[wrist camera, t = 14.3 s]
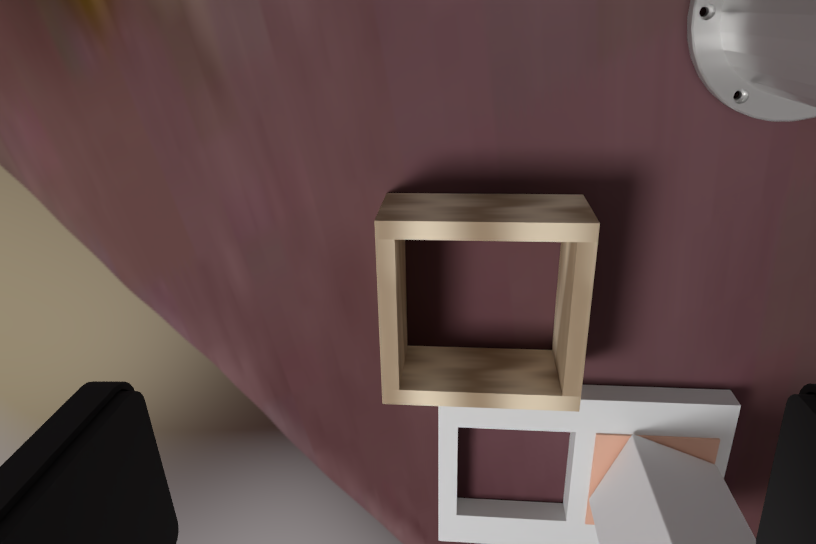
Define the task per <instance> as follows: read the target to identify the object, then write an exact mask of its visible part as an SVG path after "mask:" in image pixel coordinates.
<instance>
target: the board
mask: <svg viewBox="0 0 816 544" xmlns="http://www.w3.org/2000/svg"><path fill="white" fill-rule="evenodd" d="M740 408H741V405H740V403H739V402H738V400H737V399H736V397H735V396H734V394H733V393H732V391H731V390H719V389H691V388H663V387H635V386H607V385H582V392H581V401H580V410H579V412H576V411H551V410H526V409H500V408H475V407H450V406H439V541H451V542H468V543H484V544H599V541H598V537H597V533H596V528H595V524H594V520H593V516H592V511H591V507H590V503H589V498H590V497H591V495H592V494H593V492H594V491H595V489H596V488H597V486H598V485H599V483H600V482H601V480H602V479H603V477H604V476H605V474H606V473H607V471H608V470H609V468H610V467H611V465H612V464H613V462H614V461H615V459H616V458H617V456H618V455H619V453H620V452H621V450H622V449H623V447H624V446H625V444H626V443H627V441H628V440H629V438H630V437H631V435H633V434H634V435H637V436H640V437H643V438H645V439H648V440H651V441H654V442H656V443H659V444H662V445H664V446H667V447H670V448H672V449H675V450H678V451H680V452H683V453H686V454H689V455H691V456H694V457H697V458H699V459H702V460H705V461H707V462H710V463H712V464H715V465H716V466H717V467H718V469H719V471H720V473H721V475H722V477H723V479H724V476H725V472H726V468H727V463H728V459H729V455H730V451H731V446H732V442H733V438H734V434H735V429H736V425H737V421H738V417H739V412H740ZM458 427H464V428H487V429H510V430H534V431H557V432H570V441H569V450H568V460H567V469H566V479H565V489H564V498H563V503H548V502H529V501H511V500H492V499H473V498H457V466H458Z"/></svg>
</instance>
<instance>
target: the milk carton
mask: <svg viewBox="0 0 816 544" xmlns="http://www.w3.org/2000/svg"><path fill="white" fill-rule="evenodd" d="M589 503H590V507H591V511H592V516H593V520H594V524H595V528H596V533H597V537H598V541H599V544H756V539H755V537H754V535H753V533H752V532H751V530H750V528H749V526H748V524H747V522H746V520H745V518H744V516H743V515H742V513H741V511H740V509H739V507H738V505H737V503H736V501H735V499H734V498H733V496H732V494H731V492H730V490H729V488H728V486H727V484H726V482H725V481H724V479H723V477H722V475H721V473H720V471H719V469H718V467H717V466H716V465H715V464H712V463H710V462H707V461H705V460H702V459H699V458H697V457H694V456H691V455H689V454H686V453H683V452H680V451H678V450H675V449H672V448H670V447H667V446H664V445H662V444H659V443H656V442H654V441H651V440H648V439H645V438H643V437H640V436H637V435H634V434H633V435H631V437H630V438H629V440H628V441H627V443H626V444H625V446H624V447H623V449H622V450H621V452H620V453H619V455H618V456H617V458H616V459H615V461H614V462H613V464H612V465H611V467H610V468H609V470H608V471H607V473H606V474H605V476H604V477H603V479H602V480H601V482H600V483H599V485H598V486H597V488H596V489H595V491H594V492H593V494H592V495H591V497H590V498H589Z"/></svg>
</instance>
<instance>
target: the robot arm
mask: <svg viewBox="0 0 816 544" xmlns="http://www.w3.org/2000/svg"><path fill="white" fill-rule="evenodd" d="M702 7H705V8H706V14H705V15H704V16H700V14H699V12H700V9H701V8H702ZM687 41H688V46H689V51H690V57H691V60H692V62H693V65H694V67H695V70H696V72H697V74H698V77H699V78H700V79H701V81H702V82H703V84H704V85H705V86H706V88H707V89H708V91H709V92H710V93H711V94H713V95H714V96H715V97H716V98H717V99H718V100H719V101H720V102H722V103H723V104H725V105H726V106H728V107H730V108H732V109H734V110H735V111H737V112H739V113H742V114H745V115H748V116H750V117H753V118H757V119H762V120H768V121H798V120H803V119H809V118H814V117H816V0H691V1H690V6H689V12H688V17H687ZM737 91H739V96H738V97H737V98H735V99H734V98H733V96H734V94H735V92H737ZM177 538H178V521H177V517H176V514H175V510H174V506H173V503H172V499H171V495H170V492H169V488H168V484H167V480H166V477H165V473H164V469H163V466H162V462H161V458H160V454H159V451H158V447H157V444H156V440H155V436H154V432H153V429H152V425H151V421H150V417H149V414H148V410H147V406H146V403H145V400H144V397H143V395H142V394H141V393H140V392H138V391H134V388H133V387H132V386H131V385H130V384H129V383H127V382H88V383H86V384H84V385H83V386H82V387H81V388H80V389H79V390H78V391H77V392H76V393H75V394H74V395H73V396H72V397H70V399H68V401H66V402H65V403H64V404H63V405H62V406H61V407H60V408H59V409H58V410H57V411H56V412H55V413H54V414H53V415H52V416H51V417H50V418H49V419H48V420H47V421H46V422H45V423H44V424H43V425H42V426H41V427H40V428H39V429H38V430H37V431H36V432H35V433H34V434H33V435H32V436H31V437H30V438H29V439H28V440H27V441H26V442H25V443H24V444H23V445H22V446H21V447H20V448H19V449H18V450H17V451H16V452H15V453H14V454H13V455H12V456H11V457H10V458H9V459H8V460H7V461H6V462H5V463H4V464H3V465H2V466H1V467H0V544H176V541H177ZM756 544H816V384H807V385H805V386H804V387H803V388H802V389H801V390H800V393H799V394H794V395H791V396H790V397H789V398H788V400H787V403H786V407H785V411H784V416H783V420H782V425H781V429H780V434H779V438H778V443H777V448H776V452H775V457H774V461H773V466H772V470H771V475H770V479H769V484H768V488H767V493H766V497H765V502H764V506H763V511H762V515H761V520H760V524H759V529H758V533H757V538H756Z"/></svg>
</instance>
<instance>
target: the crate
mask: <svg viewBox="0 0 816 544" xmlns="http://www.w3.org/2000/svg"><path fill="white" fill-rule="evenodd" d="M599 228H600V223H599V221H598V219H597V217H596V216H595V214H594V212H593V211H592V209H591V207H590V205H589V204H588V202H587V200H586V199H585V197H584V195H583V194H449V193H387V194H386V196H385V198H384V201H383V203H382V205H381V207H380V210H379V212H378V214H377V216H376V219H375V244H376V267H377V289H378V312H379V335H380V358H381V381H382V403H383V404H400V405H425V406H450V407H475V408H500V409H526V410H551V411H576V412H579V410H580V401H581V392H582V383H583V374H584V364H585V355H586V346H587V337H588V328H589V319H590V310H591V301H592V292H593V282H594V273H595V264H596V255H597V246H598V237H599ZM405 240H461V241H531V242H561V248H560V260H559V272H558V284H557V296H556V308H555V320H554V331H553V343H552V350H535V349H503V348H470V347H437V346H408V345H407V302H406V260H405Z"/></svg>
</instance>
